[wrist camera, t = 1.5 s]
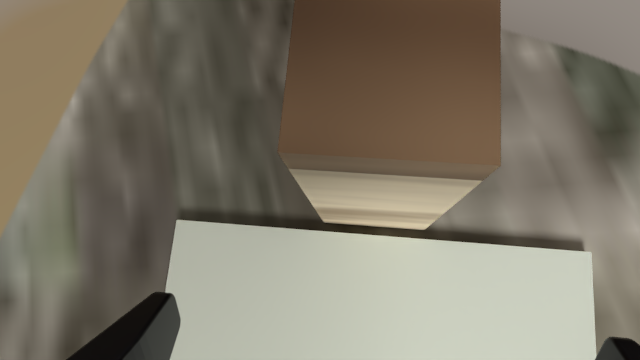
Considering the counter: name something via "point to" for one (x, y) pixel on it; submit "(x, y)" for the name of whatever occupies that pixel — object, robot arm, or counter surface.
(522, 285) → the sage mat
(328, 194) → the birch block
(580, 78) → the counter surface
